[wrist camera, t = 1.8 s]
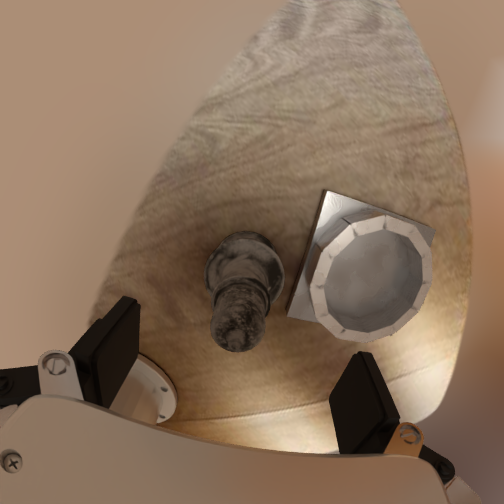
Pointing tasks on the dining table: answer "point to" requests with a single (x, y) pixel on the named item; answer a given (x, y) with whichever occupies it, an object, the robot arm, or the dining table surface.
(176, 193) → the dining table surface
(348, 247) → the hub plate
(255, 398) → the dining table surface
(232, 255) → the salt shaker
